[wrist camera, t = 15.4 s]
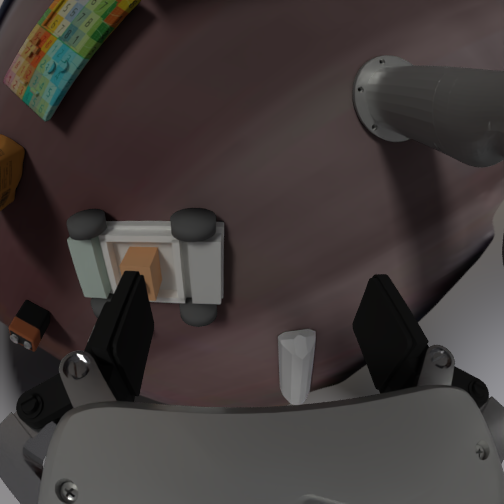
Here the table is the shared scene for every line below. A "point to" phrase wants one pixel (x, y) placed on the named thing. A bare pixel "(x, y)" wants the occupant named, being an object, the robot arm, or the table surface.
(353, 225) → the table surface
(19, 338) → the battery
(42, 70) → the puzzle game
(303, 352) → the crystal
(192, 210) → the chassis
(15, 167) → the coffee package
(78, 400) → the robot arm
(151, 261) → the box with black knob
